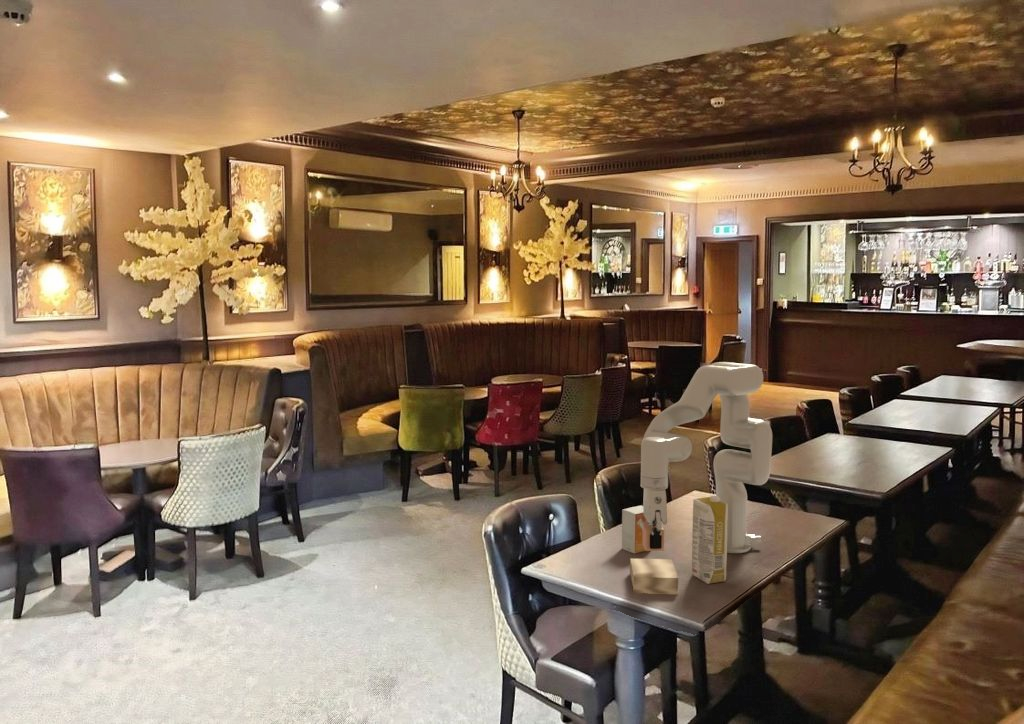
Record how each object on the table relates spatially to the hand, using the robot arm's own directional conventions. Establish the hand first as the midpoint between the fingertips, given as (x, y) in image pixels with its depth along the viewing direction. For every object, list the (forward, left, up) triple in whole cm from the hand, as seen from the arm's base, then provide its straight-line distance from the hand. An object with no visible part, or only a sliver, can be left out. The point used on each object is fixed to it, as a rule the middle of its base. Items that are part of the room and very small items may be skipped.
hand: (653, 544), depth 214 cm
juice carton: (-17, -3, -12) cm, 21 cm away
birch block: (0, 0, -12) cm, 12 cm away
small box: (-1, -28, -12) cm, 31 cm away
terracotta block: (0, 0, -1) cm, 1 cm away
